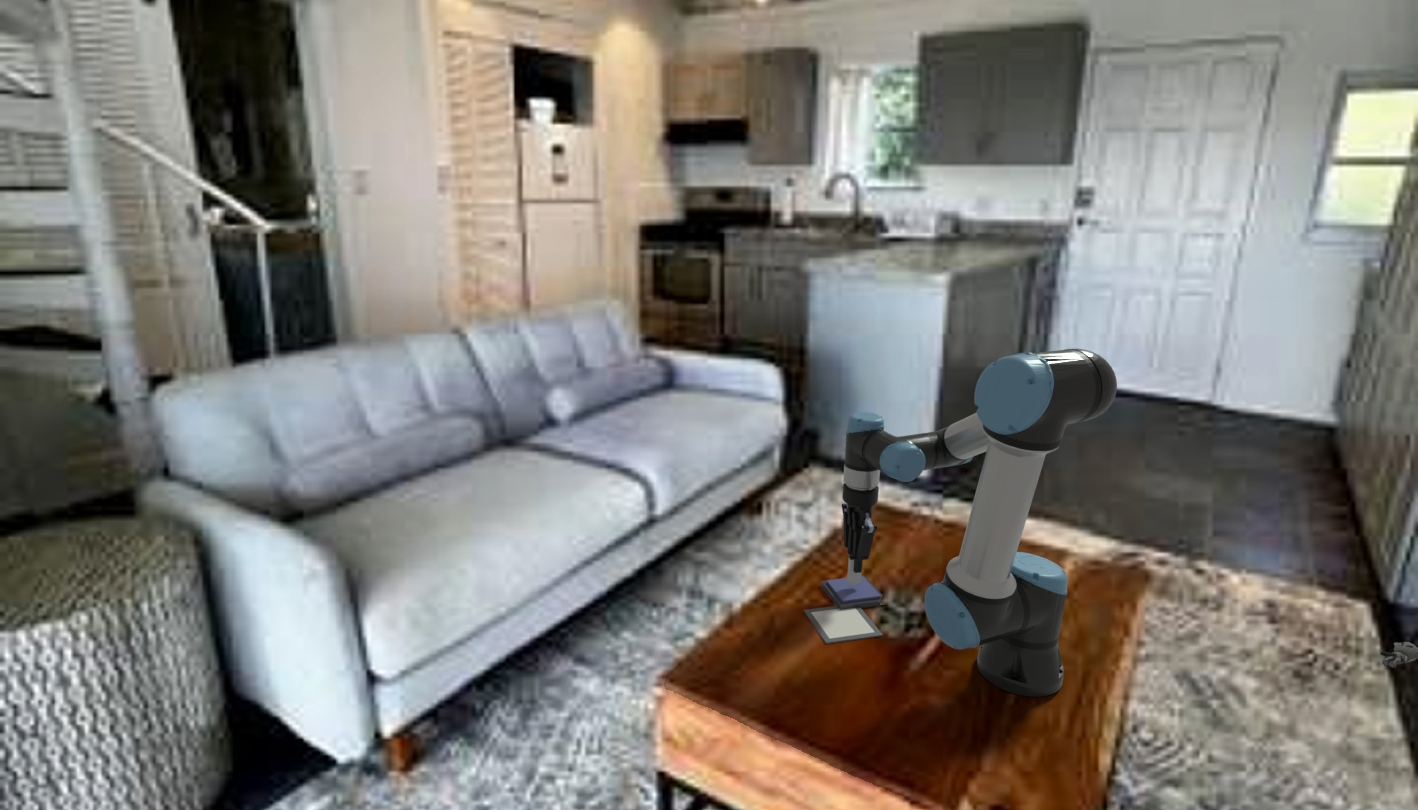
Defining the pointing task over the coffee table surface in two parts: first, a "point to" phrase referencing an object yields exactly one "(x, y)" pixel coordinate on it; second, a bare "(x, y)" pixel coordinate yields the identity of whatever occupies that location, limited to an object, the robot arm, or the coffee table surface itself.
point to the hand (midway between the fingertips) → (854, 582)
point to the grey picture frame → (842, 624)
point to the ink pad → (852, 593)
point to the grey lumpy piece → (1400, 654)
